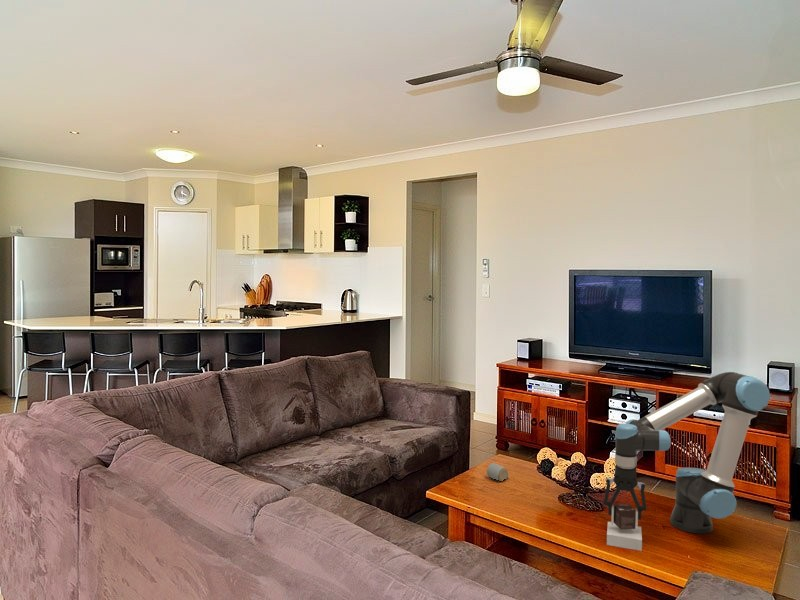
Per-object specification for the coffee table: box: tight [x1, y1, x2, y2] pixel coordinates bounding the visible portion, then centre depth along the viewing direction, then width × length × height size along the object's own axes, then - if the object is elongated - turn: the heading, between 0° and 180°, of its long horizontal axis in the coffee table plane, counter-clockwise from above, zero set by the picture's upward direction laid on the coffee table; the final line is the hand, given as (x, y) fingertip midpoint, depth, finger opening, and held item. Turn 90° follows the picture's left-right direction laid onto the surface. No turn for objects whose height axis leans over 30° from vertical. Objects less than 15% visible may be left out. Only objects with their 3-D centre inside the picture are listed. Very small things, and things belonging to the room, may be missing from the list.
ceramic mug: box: [486, 462, 510, 482], centre depth 276 cm, size 11×8×8 cm
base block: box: [606, 521, 643, 552], centre depth 211 cm, size 12×12×4 cm
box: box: [613, 503, 636, 529], centre depth 211 cm, size 6×6×7 cm
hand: (624, 525), depth 211 cm, fingers closed on box, 8 cm apart
